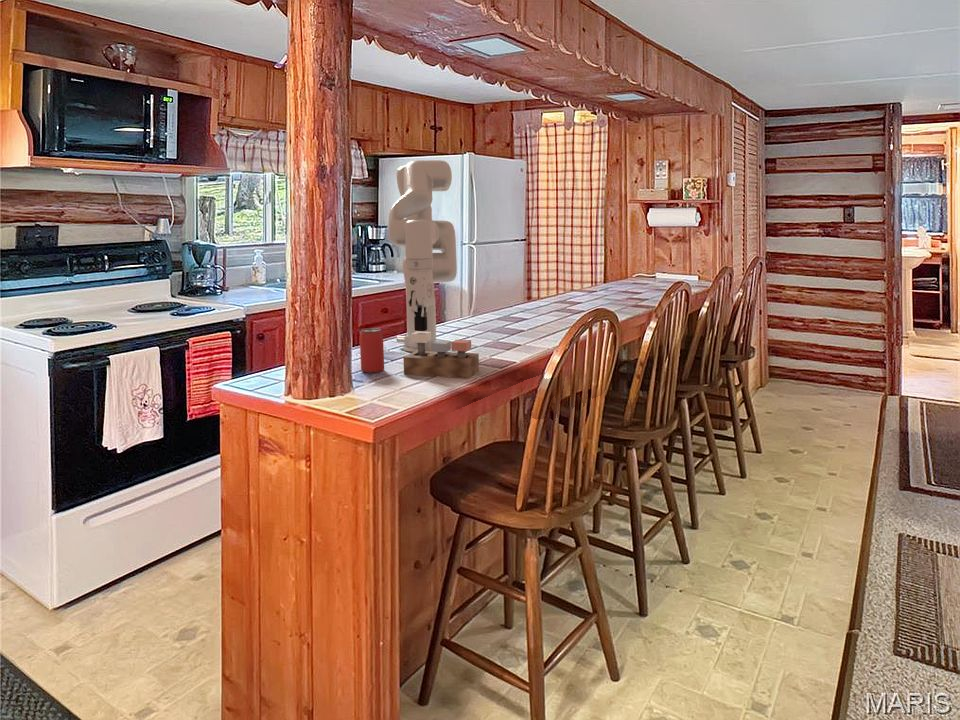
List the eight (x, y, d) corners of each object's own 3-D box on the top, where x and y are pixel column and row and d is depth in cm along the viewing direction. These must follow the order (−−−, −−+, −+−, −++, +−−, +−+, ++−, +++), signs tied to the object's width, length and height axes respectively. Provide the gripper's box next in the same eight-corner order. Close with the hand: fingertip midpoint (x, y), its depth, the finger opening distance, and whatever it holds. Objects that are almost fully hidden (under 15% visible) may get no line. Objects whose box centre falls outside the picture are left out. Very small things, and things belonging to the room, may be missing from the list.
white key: (411, 359, 203) (410, 333, 202) (417, 356, 207) (416, 331, 206) (426, 360, 202) (425, 334, 200) (431, 357, 206) (431, 331, 205)
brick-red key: (451, 368, 200) (451, 342, 199) (456, 365, 204) (456, 339, 203) (466, 369, 199) (466, 342, 197) (471, 365, 203) (471, 340, 202)
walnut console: (403, 374, 202) (403, 357, 201) (417, 367, 211) (416, 350, 210) (468, 378, 196) (468, 360, 195) (478, 370, 206) (478, 353, 205)
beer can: (356, 371, 207) (354, 329, 204) (375, 367, 211) (373, 327, 209) (370, 374, 202) (368, 332, 200) (388, 370, 207) (387, 329, 204)
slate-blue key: (431, 368, 202) (431, 343, 201) (437, 365, 206) (436, 340, 205) (446, 369, 201) (445, 343, 199) (451, 366, 205) (451, 341, 203)
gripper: (422, 267, 191) (423, 335, 195) (441, 263, 205) (442, 327, 209) (396, 266, 193) (398, 334, 197) (416, 263, 207) (418, 326, 211)
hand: (420, 330), depth 203 cm, fingers closed
